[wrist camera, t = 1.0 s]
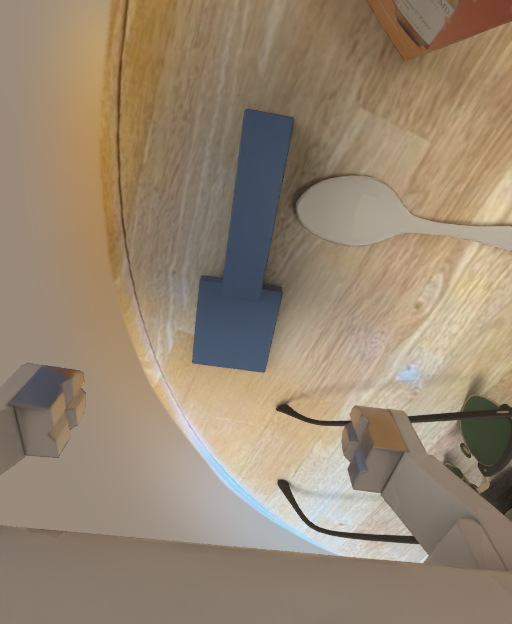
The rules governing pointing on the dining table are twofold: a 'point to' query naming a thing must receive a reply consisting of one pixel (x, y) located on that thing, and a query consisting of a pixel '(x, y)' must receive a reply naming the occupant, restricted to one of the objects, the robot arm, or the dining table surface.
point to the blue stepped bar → (246, 255)
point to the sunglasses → (480, 441)
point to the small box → (437, 21)
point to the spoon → (376, 215)
